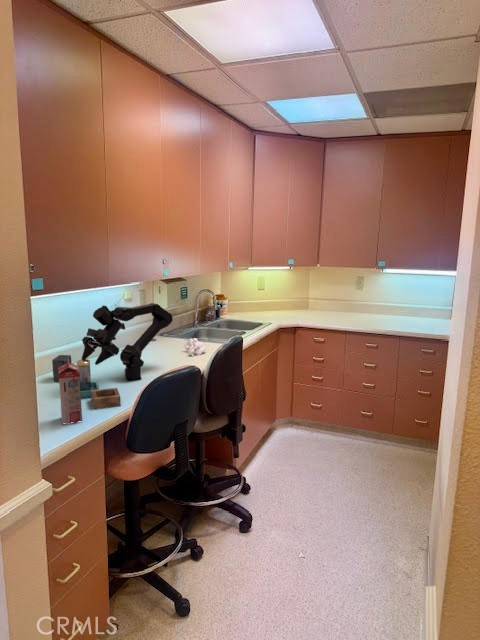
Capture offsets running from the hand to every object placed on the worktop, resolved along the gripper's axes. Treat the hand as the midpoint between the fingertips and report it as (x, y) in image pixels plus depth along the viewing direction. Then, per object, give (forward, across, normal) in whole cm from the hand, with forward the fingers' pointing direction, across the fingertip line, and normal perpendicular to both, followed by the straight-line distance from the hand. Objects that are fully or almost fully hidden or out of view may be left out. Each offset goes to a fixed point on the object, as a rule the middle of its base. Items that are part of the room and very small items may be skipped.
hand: (88, 362), depth 179 cm
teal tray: (+11, 0, +7) cm, 13 cm away
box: (+8, -23, +11) cm, 27 cm away
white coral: (-42, -7, +62) cm, 75 cm away
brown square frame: (+12, +15, +7) cm, 20 cm away
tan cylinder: (+10, 0, +7) cm, 12 cm away
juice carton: (+24, +18, -5) cm, 31 cm away
